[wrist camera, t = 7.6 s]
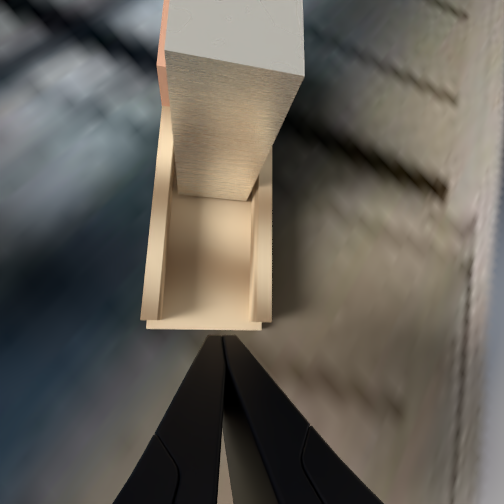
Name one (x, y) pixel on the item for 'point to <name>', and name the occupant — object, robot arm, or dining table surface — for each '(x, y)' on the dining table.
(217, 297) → the guide channel
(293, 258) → the dining table surface
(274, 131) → the brushed grey block
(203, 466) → the robot arm
